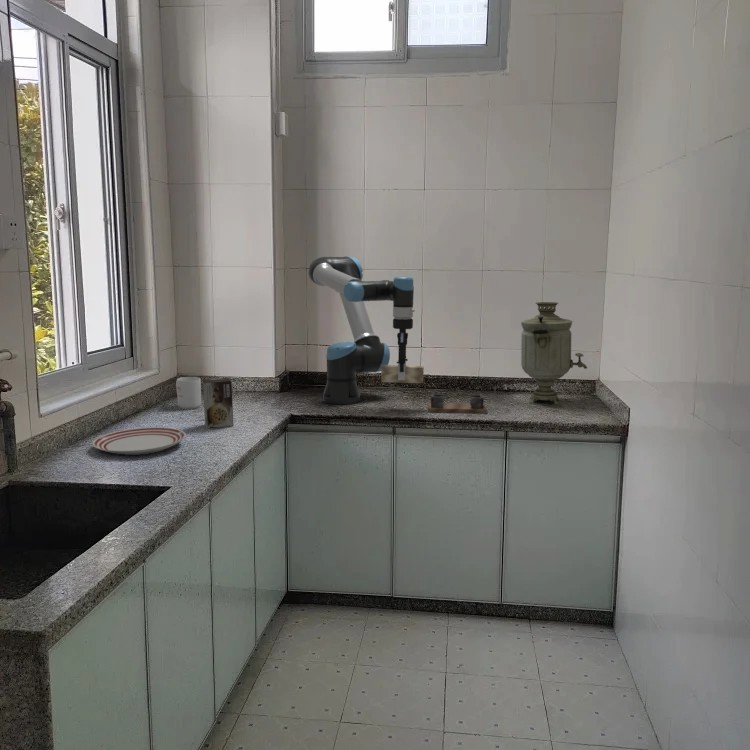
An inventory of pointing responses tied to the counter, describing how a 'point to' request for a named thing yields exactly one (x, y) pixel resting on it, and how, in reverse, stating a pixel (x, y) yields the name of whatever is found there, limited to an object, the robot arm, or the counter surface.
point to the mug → (189, 392)
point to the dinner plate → (139, 440)
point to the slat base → (457, 405)
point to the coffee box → (218, 402)
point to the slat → (411, 374)
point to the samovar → (547, 350)
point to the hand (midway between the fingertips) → (401, 378)
